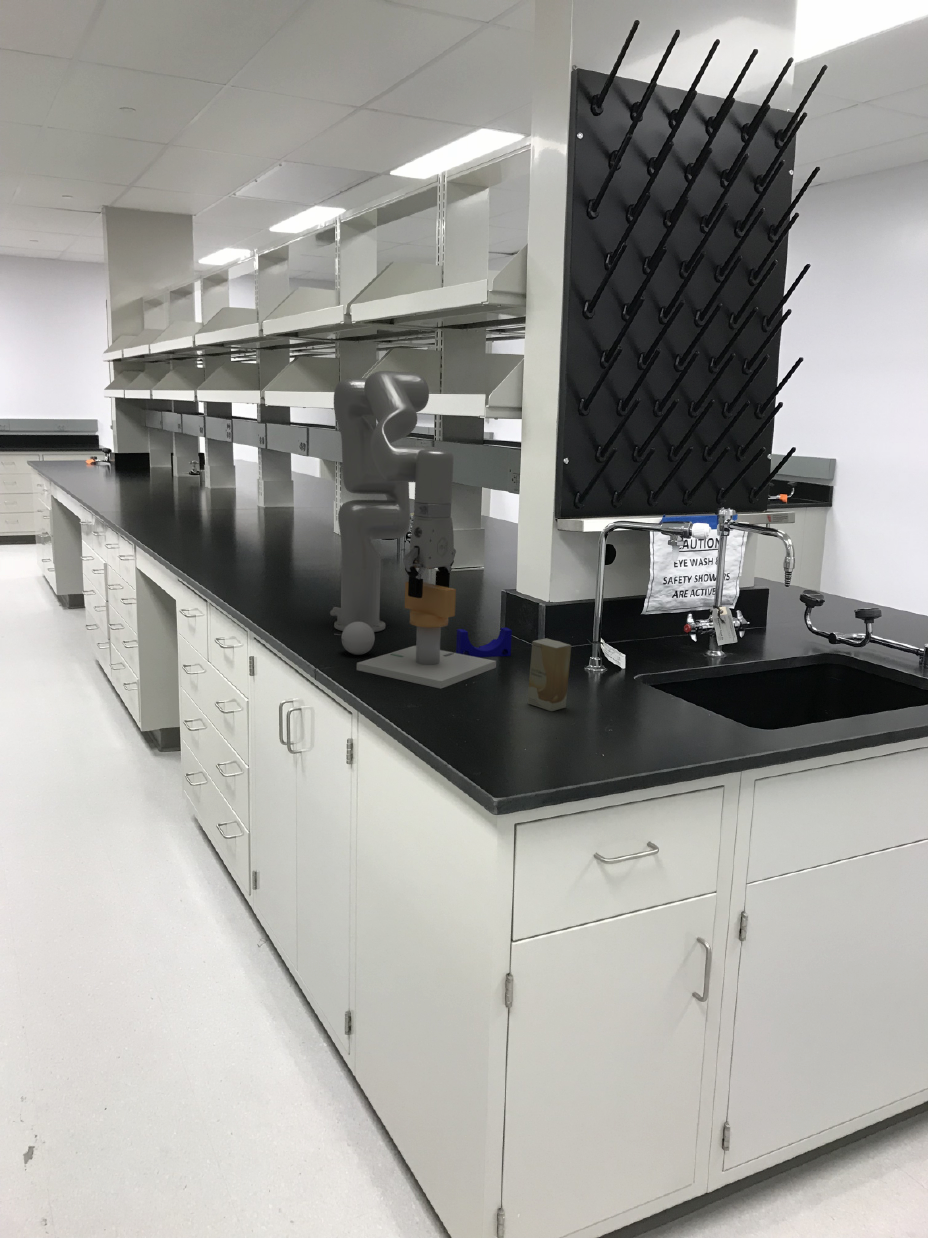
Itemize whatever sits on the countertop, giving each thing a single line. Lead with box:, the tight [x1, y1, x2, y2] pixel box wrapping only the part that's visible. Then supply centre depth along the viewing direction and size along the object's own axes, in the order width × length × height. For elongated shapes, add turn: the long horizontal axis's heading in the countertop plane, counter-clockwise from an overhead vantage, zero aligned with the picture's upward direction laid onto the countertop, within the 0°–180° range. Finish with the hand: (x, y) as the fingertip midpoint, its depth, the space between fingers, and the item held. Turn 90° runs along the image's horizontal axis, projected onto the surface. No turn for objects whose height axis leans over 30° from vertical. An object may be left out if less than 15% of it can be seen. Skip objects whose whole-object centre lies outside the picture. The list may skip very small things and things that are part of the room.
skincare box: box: [527, 637, 572, 712], centre depth 173 cm, size 6×4×12 cm
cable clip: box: [455, 627, 513, 658], centre depth 211 cm, size 12×4×6 cm, turn 109°
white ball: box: [335, 622, 376, 656], centre depth 206 cm, size 10×7×7 cm
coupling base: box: [356, 626, 497, 689], centre depth 196 cm, size 21×21×10 cm
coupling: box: [404, 580, 457, 628], centre depth 194 cm, size 12×8×8 cm, turn 45°
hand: (428, 593), depth 194 cm, fingers open, 9 cm apart
